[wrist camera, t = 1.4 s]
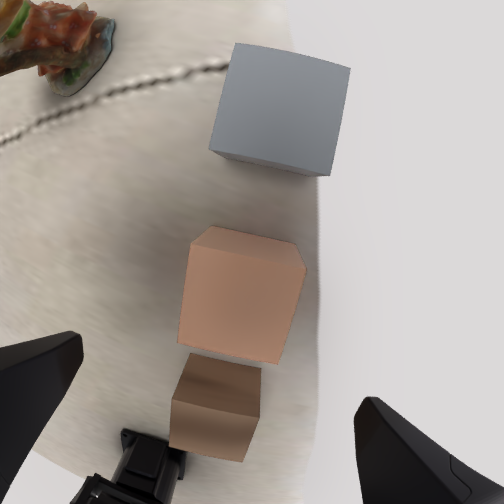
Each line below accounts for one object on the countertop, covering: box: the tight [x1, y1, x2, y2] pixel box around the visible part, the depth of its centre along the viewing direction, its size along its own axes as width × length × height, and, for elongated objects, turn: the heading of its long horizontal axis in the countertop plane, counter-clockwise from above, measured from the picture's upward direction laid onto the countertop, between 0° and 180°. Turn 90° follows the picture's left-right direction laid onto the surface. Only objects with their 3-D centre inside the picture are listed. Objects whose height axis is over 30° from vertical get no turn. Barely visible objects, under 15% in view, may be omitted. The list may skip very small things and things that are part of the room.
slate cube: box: [209, 43, 350, 177], centre depth 13 cm, size 5×5×5 cm
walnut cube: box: [169, 353, 261, 462], centre depth 17 cm, size 5×5×5 cm
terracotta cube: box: [177, 226, 307, 365], centre depth 15 cm, size 5×5×5 cm
